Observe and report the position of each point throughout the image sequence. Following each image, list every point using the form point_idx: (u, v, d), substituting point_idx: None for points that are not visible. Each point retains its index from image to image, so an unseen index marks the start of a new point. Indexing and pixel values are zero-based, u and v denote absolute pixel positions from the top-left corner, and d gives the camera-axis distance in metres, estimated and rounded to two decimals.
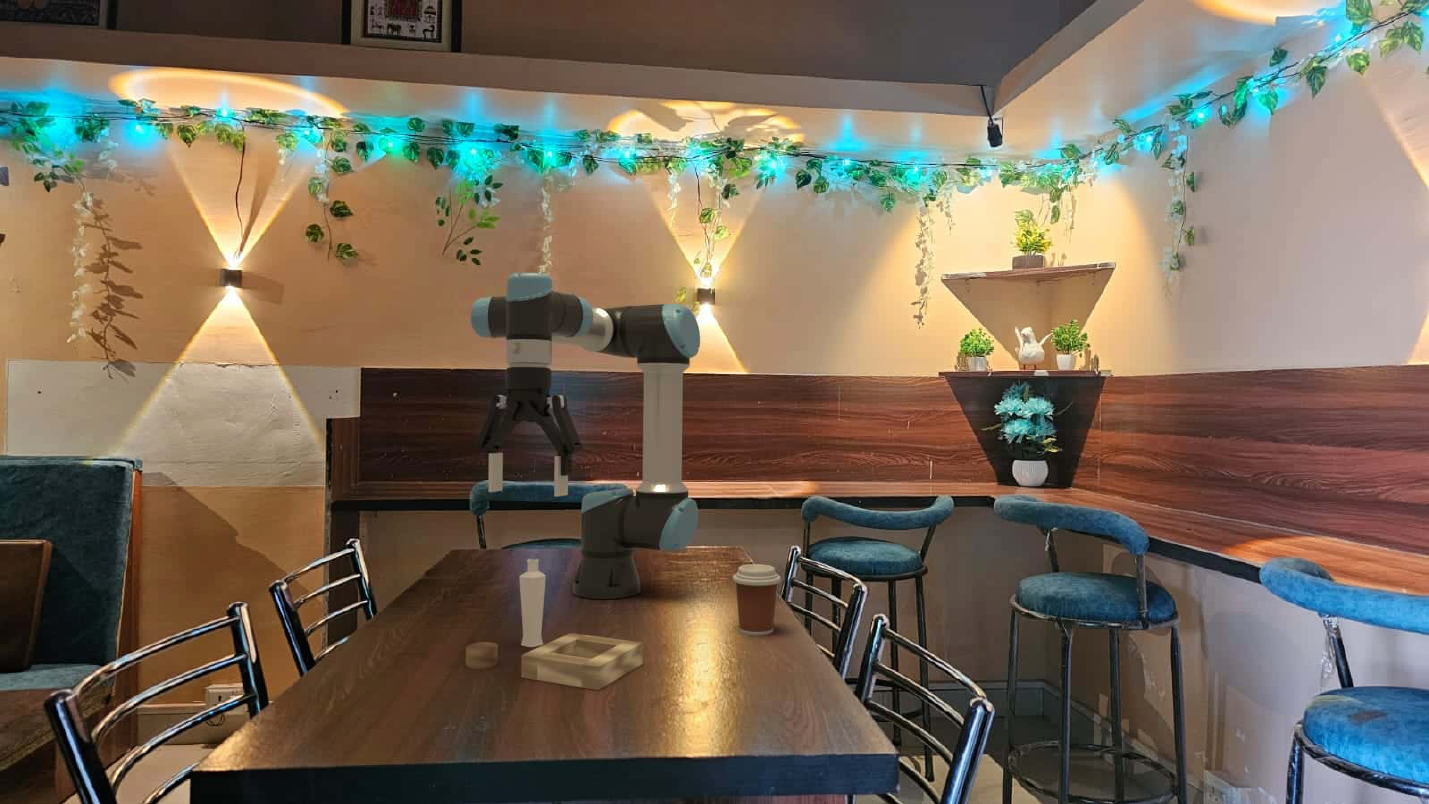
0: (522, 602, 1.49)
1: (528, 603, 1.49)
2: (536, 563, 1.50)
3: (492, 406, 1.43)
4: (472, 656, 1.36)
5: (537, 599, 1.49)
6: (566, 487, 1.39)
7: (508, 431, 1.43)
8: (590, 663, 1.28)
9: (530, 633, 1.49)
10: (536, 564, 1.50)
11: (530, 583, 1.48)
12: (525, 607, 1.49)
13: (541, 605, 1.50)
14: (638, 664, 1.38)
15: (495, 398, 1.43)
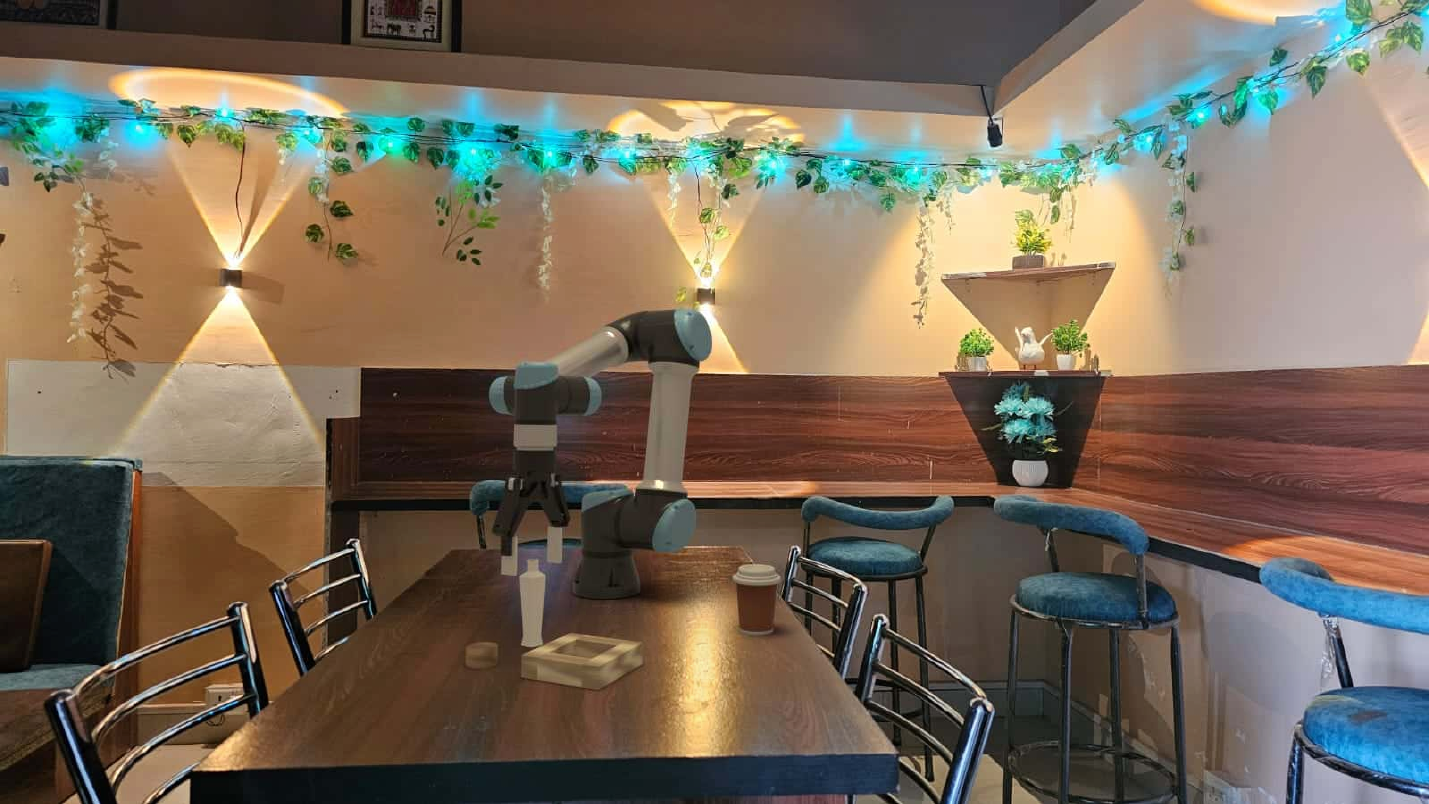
0: (522, 602, 1.49)
1: (528, 603, 1.49)
2: (536, 563, 1.50)
3: None
4: (472, 656, 1.36)
5: (537, 599, 1.49)
6: (512, 568, 1.43)
7: (548, 508, 1.54)
8: (590, 663, 1.28)
9: (530, 633, 1.49)
10: (536, 564, 1.50)
11: (530, 583, 1.48)
12: (525, 607, 1.49)
13: (541, 605, 1.50)
14: (638, 664, 1.38)
15: None
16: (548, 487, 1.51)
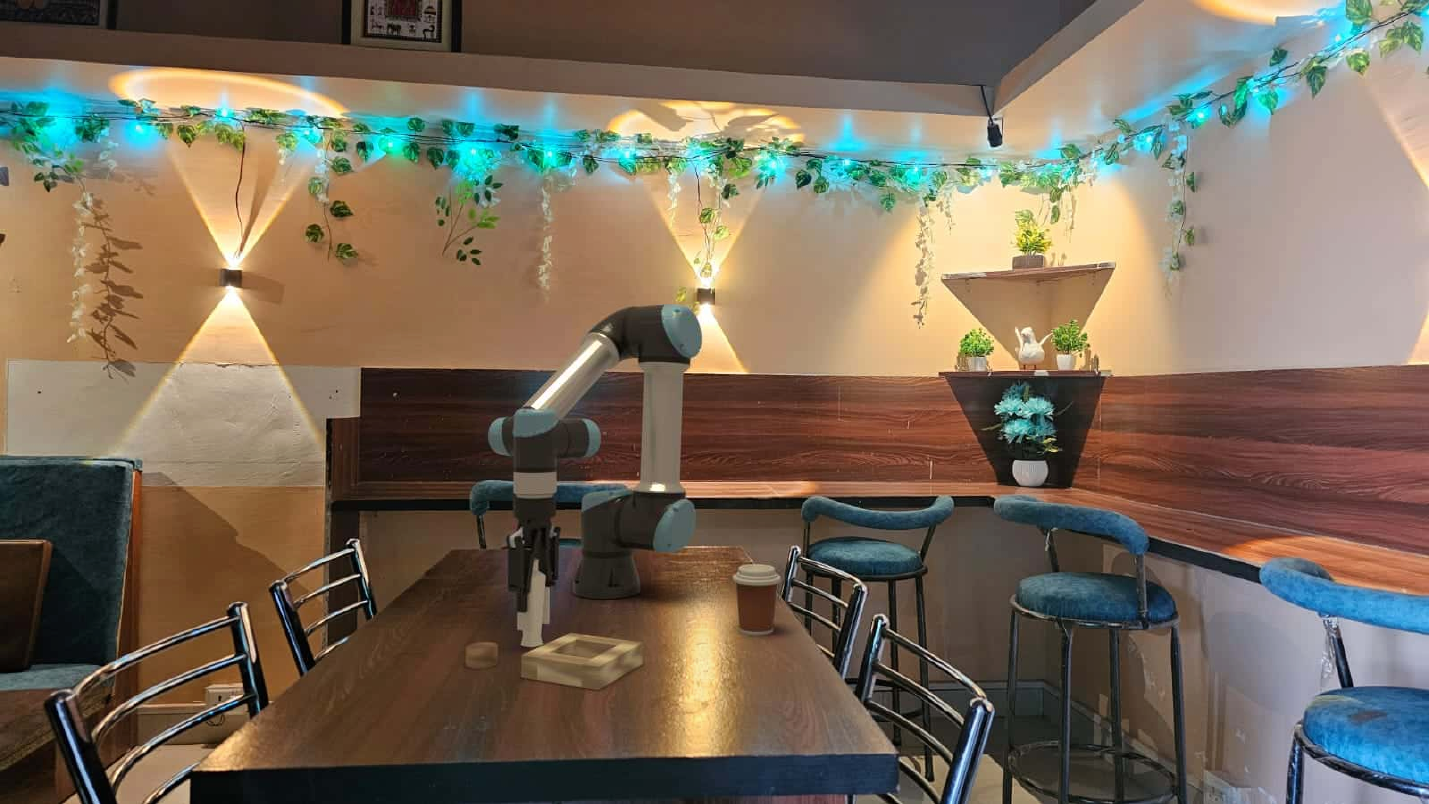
0: None
1: None
2: (536, 563, 1.50)
3: None
4: (472, 656, 1.36)
5: (537, 599, 1.49)
6: (528, 623, 1.47)
7: (541, 560, 1.52)
8: (590, 663, 1.28)
9: (530, 633, 1.49)
10: (536, 564, 1.50)
11: None
12: None
13: (541, 605, 1.50)
14: (638, 664, 1.38)
15: None
16: (547, 534, 1.51)
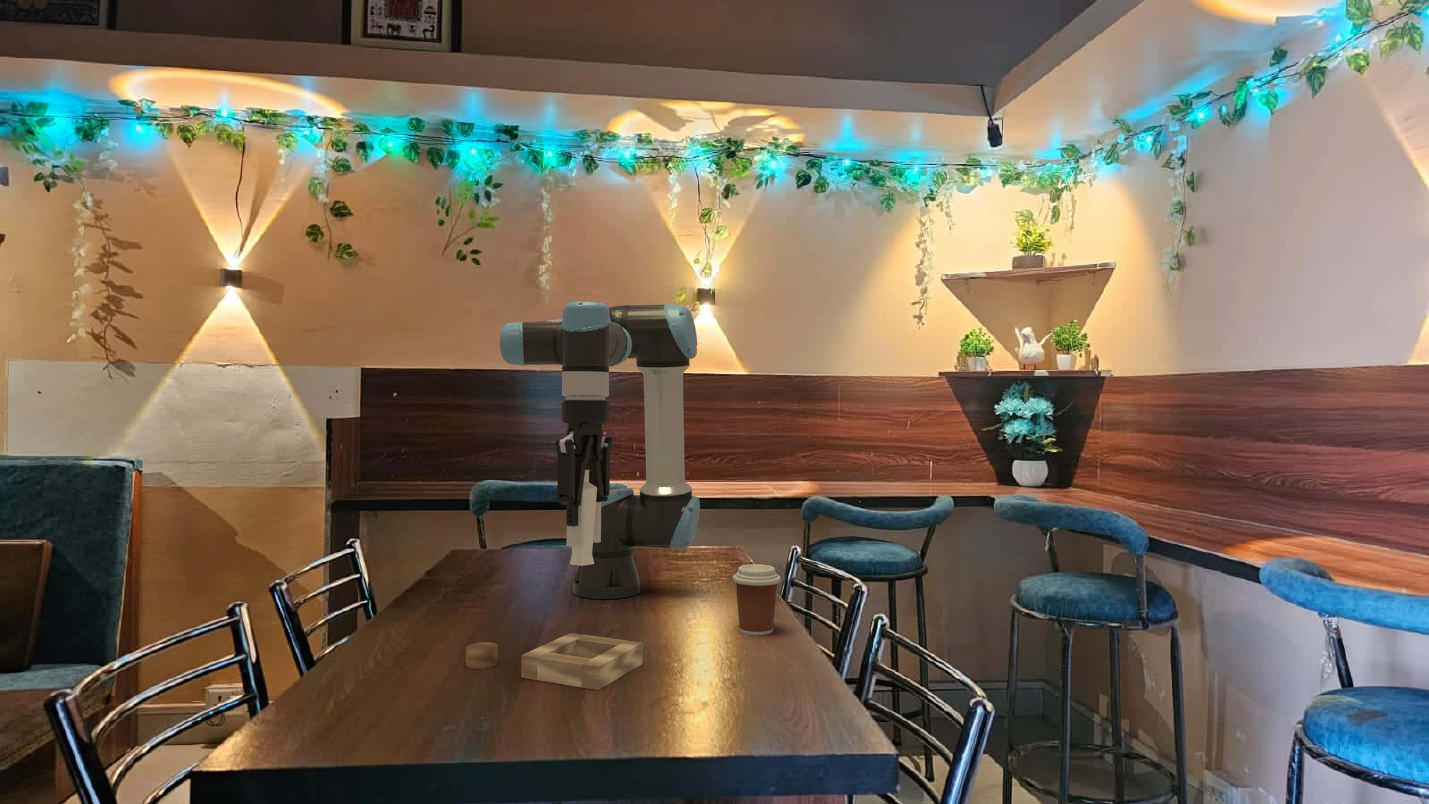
0: None
1: None
2: (586, 473, 1.35)
3: None
4: (472, 656, 1.36)
5: (588, 512, 1.34)
6: (579, 539, 1.33)
7: (592, 472, 1.37)
8: (590, 663, 1.28)
9: (580, 550, 1.34)
10: (586, 474, 1.35)
11: None
12: None
13: (592, 520, 1.35)
14: (638, 664, 1.38)
15: None
16: (599, 442, 1.36)
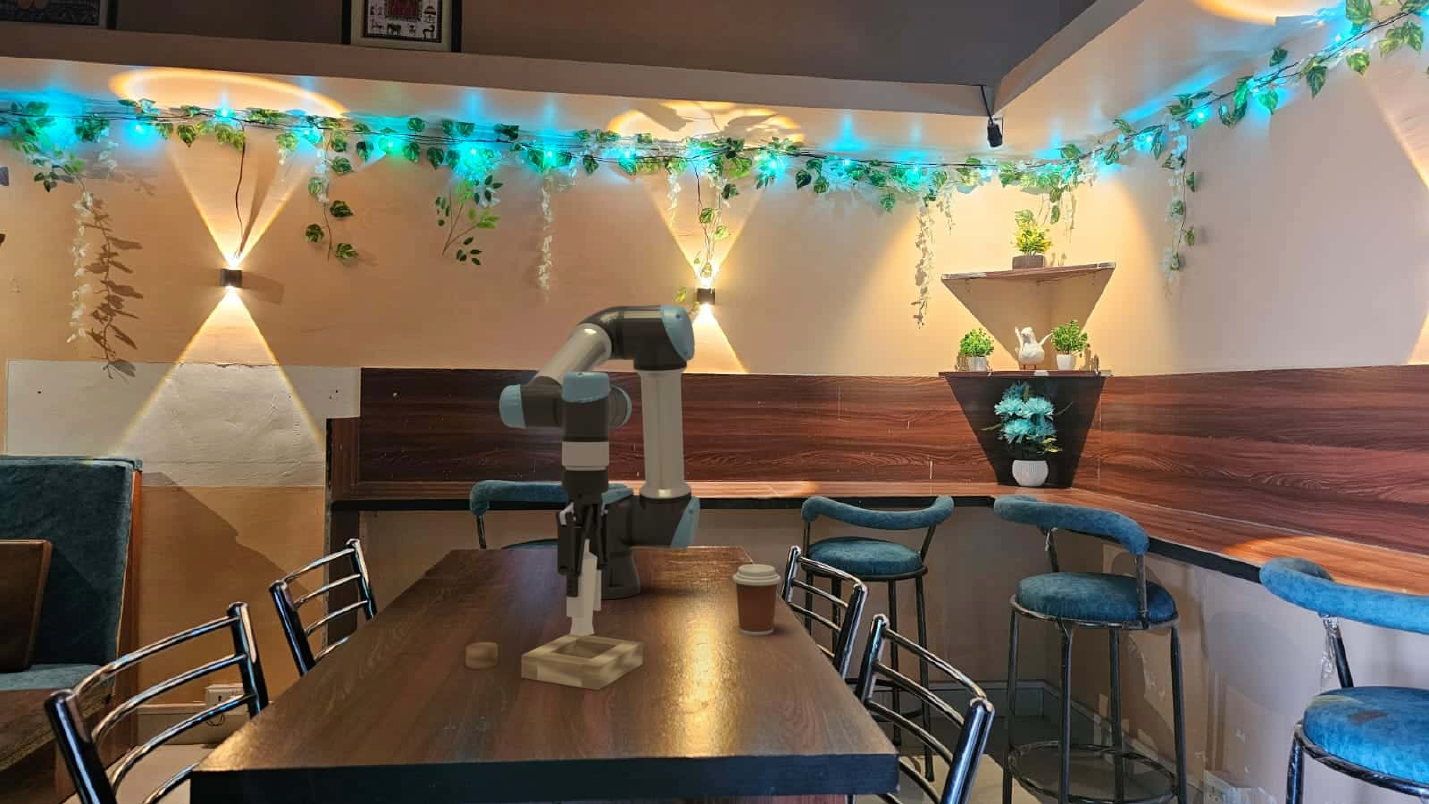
0: None
1: None
2: (586, 543, 1.35)
3: None
4: (472, 656, 1.36)
5: (588, 583, 1.34)
6: (579, 609, 1.33)
7: (592, 540, 1.37)
8: (590, 663, 1.28)
9: (580, 620, 1.34)
10: (587, 544, 1.35)
11: None
12: None
13: (592, 590, 1.35)
14: (638, 664, 1.38)
15: None
16: (599, 511, 1.36)
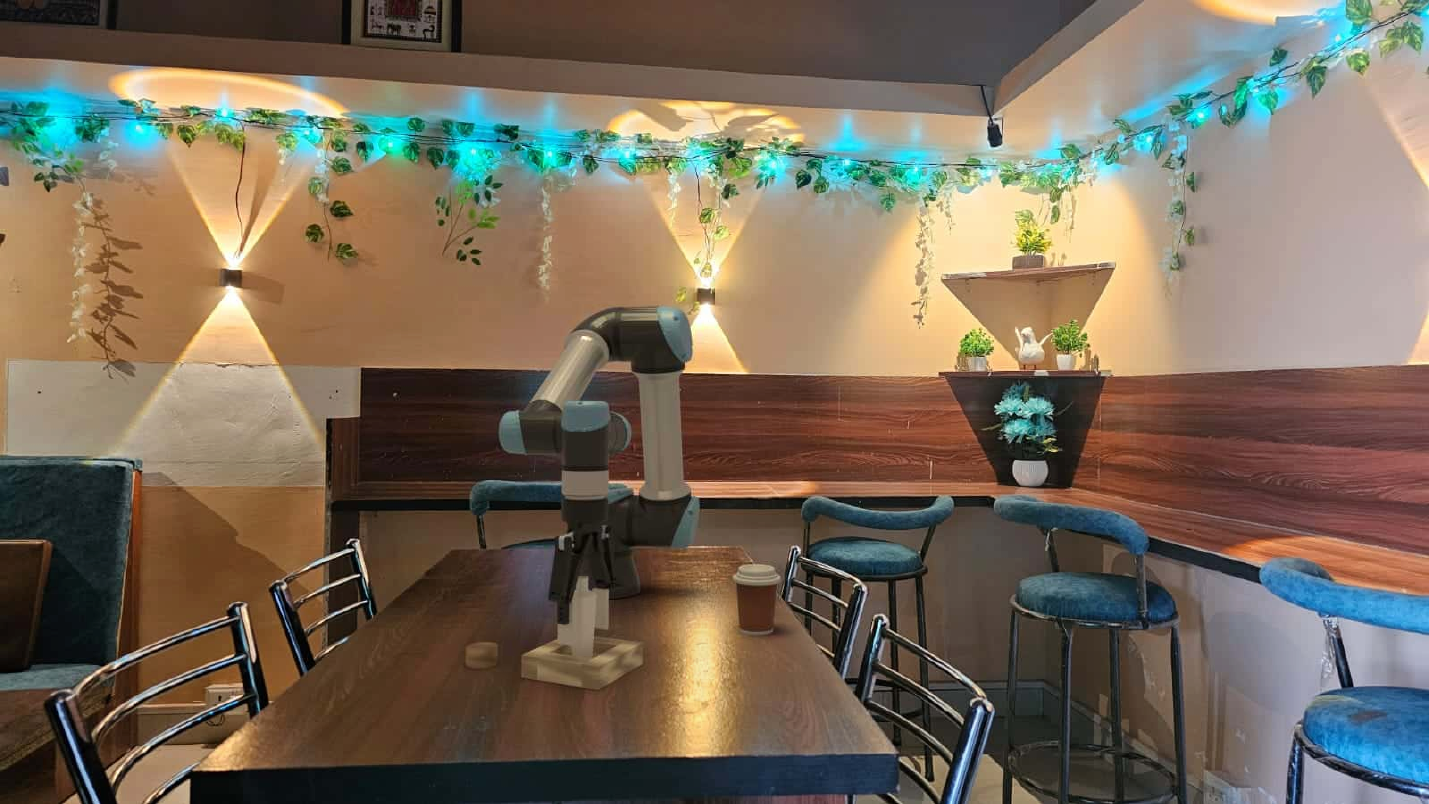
0: None
1: (578, 626, 1.34)
2: (585, 581, 1.35)
3: None
4: (472, 656, 1.36)
5: (588, 621, 1.34)
6: (570, 637, 1.30)
7: (596, 564, 1.39)
8: (590, 663, 1.28)
9: None
10: (586, 582, 1.35)
11: (580, 604, 1.33)
12: None
13: (592, 627, 1.35)
14: (638, 664, 1.38)
15: None
16: (599, 539, 1.36)
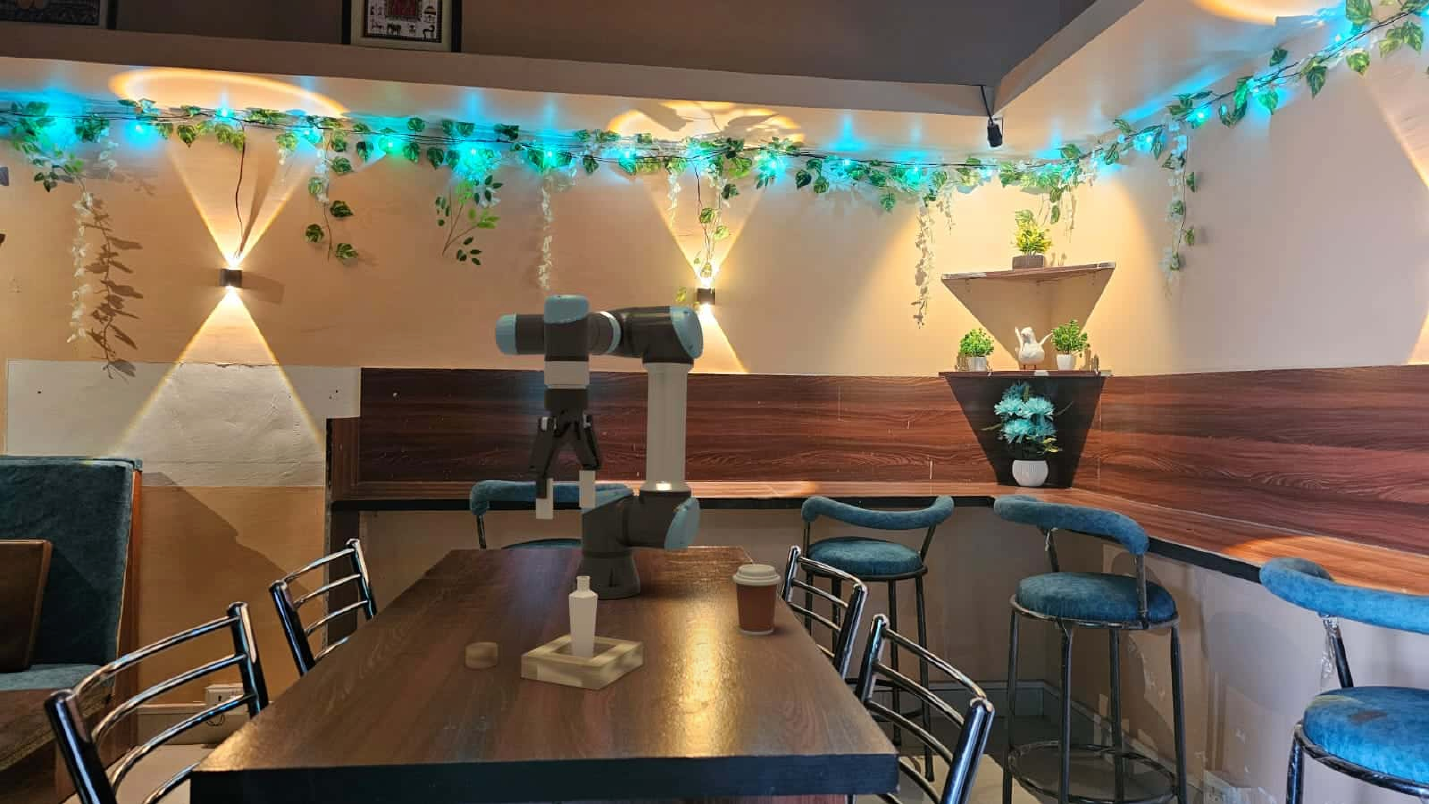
0: (572, 624, 1.35)
1: (579, 626, 1.34)
2: (587, 581, 1.35)
3: None
4: (472, 656, 1.36)
5: (588, 621, 1.34)
6: (548, 511, 1.36)
7: (581, 450, 1.47)
8: (590, 663, 1.28)
9: None
10: (587, 582, 1.35)
11: (581, 604, 1.34)
12: (575, 629, 1.34)
13: (593, 627, 1.35)
14: (638, 664, 1.38)
15: None
16: (581, 428, 1.43)
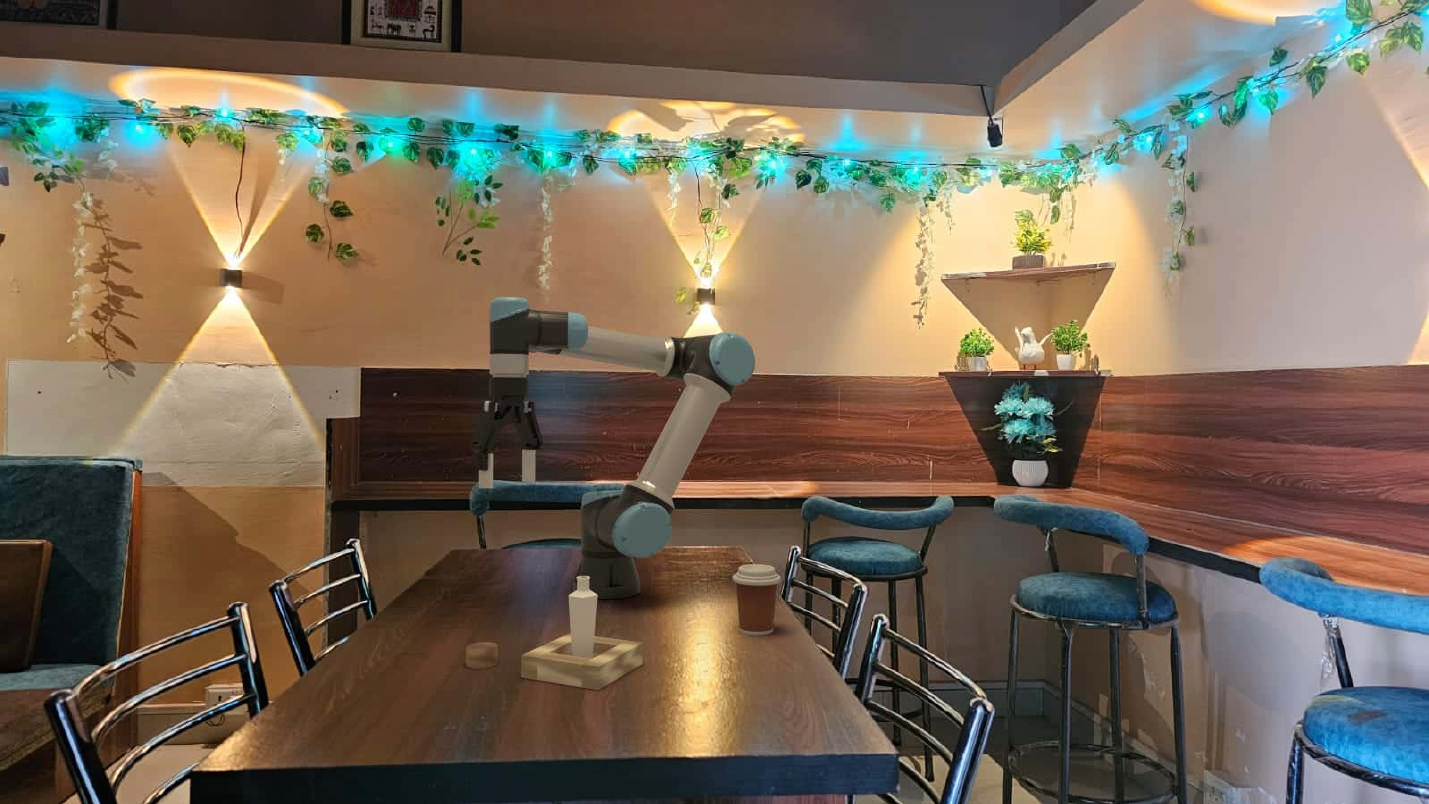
0: (572, 624, 1.35)
1: (579, 626, 1.34)
2: (586, 581, 1.35)
3: None
4: (472, 656, 1.36)
5: (588, 621, 1.34)
6: (488, 481, 1.59)
7: (522, 431, 1.70)
8: (590, 663, 1.28)
9: None
10: (587, 582, 1.35)
11: (581, 603, 1.34)
12: (575, 629, 1.34)
13: (593, 627, 1.35)
14: (638, 664, 1.38)
15: None
16: (521, 411, 1.67)
